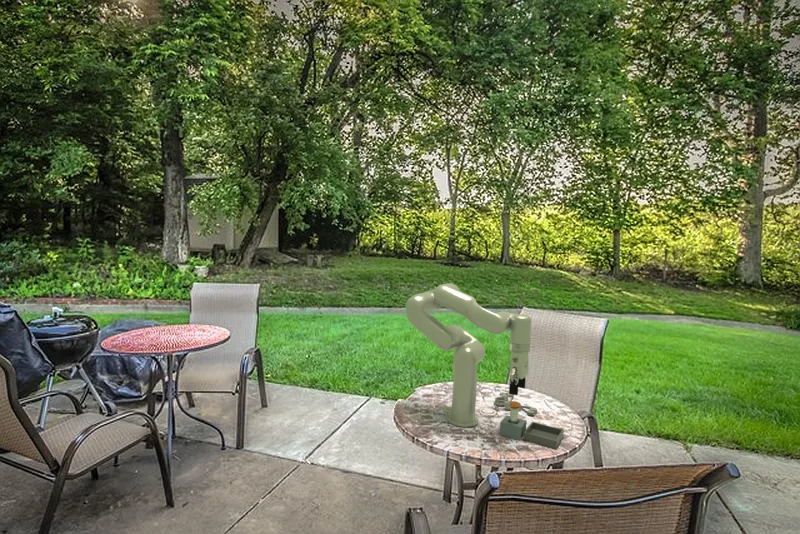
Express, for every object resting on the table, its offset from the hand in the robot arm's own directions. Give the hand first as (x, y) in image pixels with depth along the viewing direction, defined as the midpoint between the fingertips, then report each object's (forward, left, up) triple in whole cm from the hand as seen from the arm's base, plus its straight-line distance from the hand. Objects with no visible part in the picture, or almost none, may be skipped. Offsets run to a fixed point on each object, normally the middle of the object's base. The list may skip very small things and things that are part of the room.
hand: (517, 390), depth 178 cm
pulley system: (-11, +29, -18) cm, 36 cm away
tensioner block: (0, 0, -17) cm, 17 cm away
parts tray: (+11, +3, -17) cm, 20 cm away
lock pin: (0, 0, -17) cm, 17 cm away
